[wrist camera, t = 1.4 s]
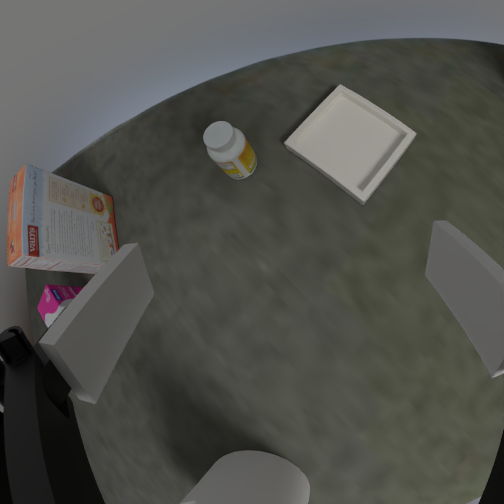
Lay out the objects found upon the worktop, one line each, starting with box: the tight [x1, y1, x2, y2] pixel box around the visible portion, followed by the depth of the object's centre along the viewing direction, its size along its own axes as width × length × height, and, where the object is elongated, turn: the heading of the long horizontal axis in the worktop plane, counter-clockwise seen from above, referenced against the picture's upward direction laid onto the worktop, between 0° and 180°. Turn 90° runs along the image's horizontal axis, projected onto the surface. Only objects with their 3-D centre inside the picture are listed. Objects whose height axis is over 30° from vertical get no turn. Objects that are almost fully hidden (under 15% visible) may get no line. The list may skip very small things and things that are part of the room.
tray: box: [284, 85, 416, 206], centre depth 37 cm, size 14×14×2 cm
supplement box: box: [37, 284, 84, 328], centre depth 42 cm, size 6×6×12 cm
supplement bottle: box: [203, 121, 257, 179], centre depth 38 cm, size 5×5×10 cm
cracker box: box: [7, 164, 119, 274], centre depth 38 cm, size 14×6×21 cm, turn 16°
